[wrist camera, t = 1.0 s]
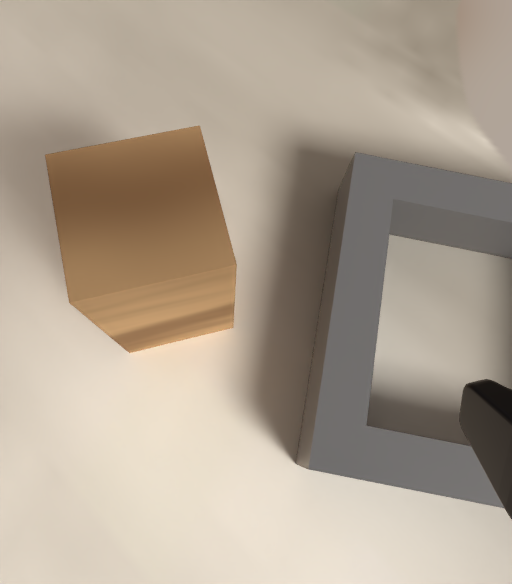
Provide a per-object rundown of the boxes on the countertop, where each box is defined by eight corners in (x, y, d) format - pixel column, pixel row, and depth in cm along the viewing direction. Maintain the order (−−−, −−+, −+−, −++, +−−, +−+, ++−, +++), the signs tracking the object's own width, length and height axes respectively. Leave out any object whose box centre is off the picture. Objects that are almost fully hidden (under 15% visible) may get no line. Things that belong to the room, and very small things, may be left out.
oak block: (233, 327, 23) (236, 264, 15) (129, 353, 23) (69, 302, 14) (209, 233, 25) (199, 125, 16) (110, 255, 24) (44, 154, 15)
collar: (602, 524, 22) (671, 541, 18) (295, 463, 22) (308, 469, 18) (597, 240, 26) (652, 211, 22) (338, 189, 26) (355, 152, 22)
